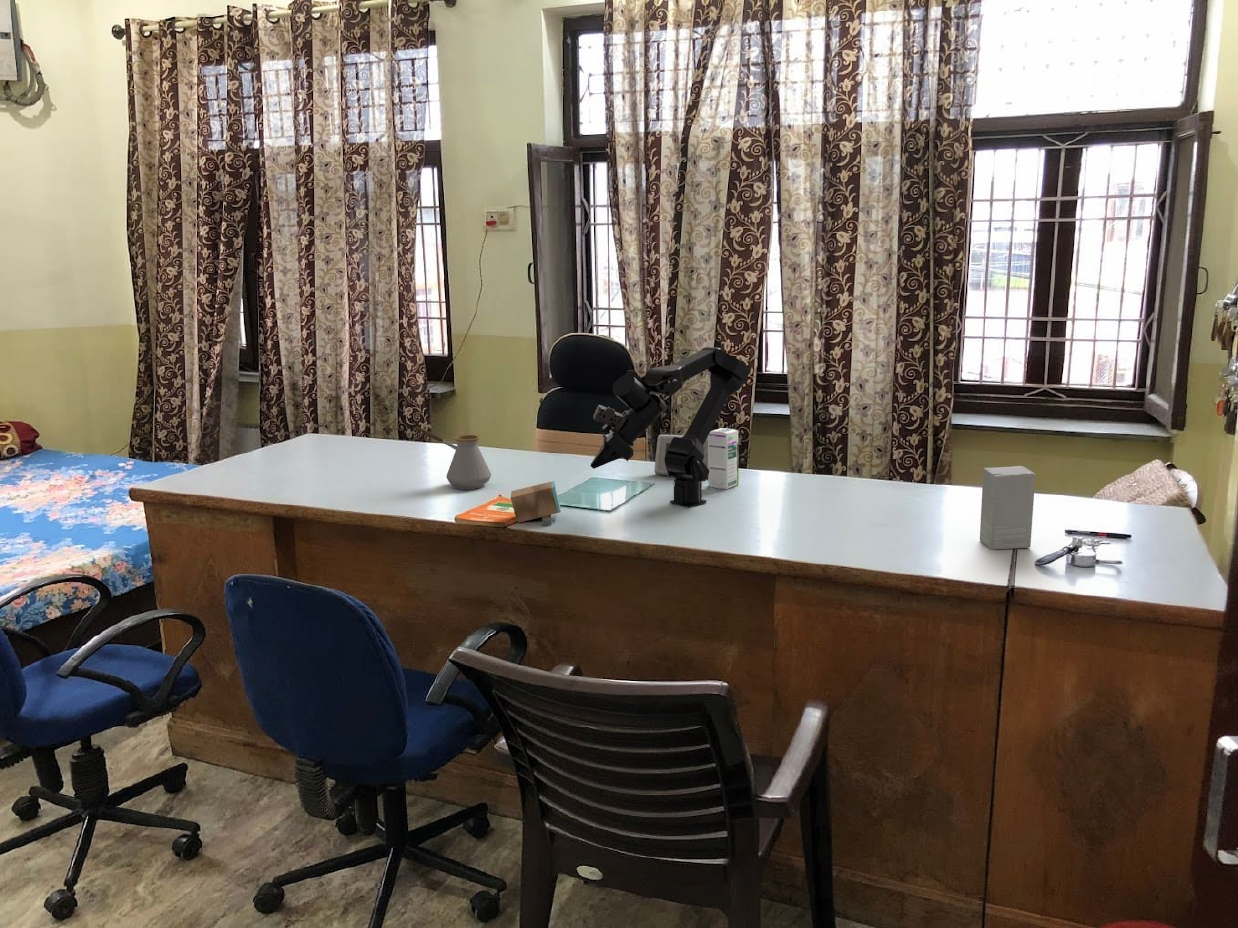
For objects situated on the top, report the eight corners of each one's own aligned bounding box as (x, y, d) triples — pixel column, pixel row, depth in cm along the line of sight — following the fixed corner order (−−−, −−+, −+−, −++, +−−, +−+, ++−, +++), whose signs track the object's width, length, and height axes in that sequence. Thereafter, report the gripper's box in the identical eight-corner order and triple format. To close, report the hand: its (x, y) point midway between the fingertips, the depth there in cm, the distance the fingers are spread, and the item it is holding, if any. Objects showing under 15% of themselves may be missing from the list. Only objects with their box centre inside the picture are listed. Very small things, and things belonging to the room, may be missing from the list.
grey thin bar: (550, 511, 229) (550, 506, 228) (551, 525, 217) (551, 520, 217) (542, 511, 228) (542, 506, 228) (542, 525, 217) (542, 520, 216)
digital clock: (651, 475, 263) (650, 436, 261) (667, 469, 270) (667, 431, 268) (705, 482, 255) (705, 442, 252) (720, 475, 262) (720, 436, 260)
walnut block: (554, 480, 224) (511, 491, 224) (554, 487, 218) (510, 497, 218) (560, 505, 225) (517, 515, 225) (560, 512, 219) (517, 522, 219)
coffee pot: (499, 482, 257) (497, 426, 254) (478, 493, 247) (475, 434, 244) (429, 477, 265) (426, 422, 262) (405, 486, 254) (401, 430, 251)
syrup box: (727, 489, 246) (727, 433, 243) (707, 486, 249) (707, 430, 246) (738, 485, 250) (739, 429, 247) (719, 482, 254) (719, 427, 251)
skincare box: (1017, 539, 201) (1022, 464, 198) (1032, 550, 194) (1038, 472, 191) (976, 540, 201) (981, 465, 197) (990, 551, 194) (995, 473, 190)
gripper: (611, 387, 227) (564, 435, 228) (617, 399, 208) (566, 451, 210) (645, 419, 229) (599, 467, 231) (654, 434, 211) (604, 486, 212)
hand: (591, 467), depth 221 cm, fingers closed
